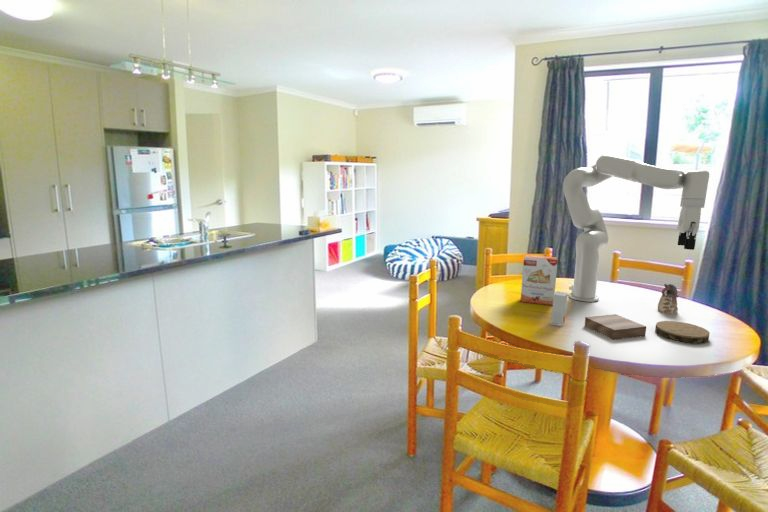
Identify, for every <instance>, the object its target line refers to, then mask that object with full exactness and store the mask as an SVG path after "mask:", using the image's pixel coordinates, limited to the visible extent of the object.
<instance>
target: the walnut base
mask: <svg viewBox="0 0 768 512" xmlns="http://www.w3.org/2000/svg"><path fill="white" fill-rule="evenodd" d="M584 319H585V320H584V327H585V326H586V327H585V328H587V327H588V329H589V328H590V330H592V331H594V330H595V331H594V332H596V331H597V332H596V333H598V332H599V333H598V334H600V333H601V334H600V335H602V334H603V335H602V336H604V335H605V336H604V337H606V336H607V337H606V338H608V337H609V338H608V339H610V338H611V340H613V341H614V340H615V339H616V340H623V338H624V339H630V338H631V339H632V337H633V338H638V337H639V338H641V337H646V331H647V326H646V325H644V324H641V323H639V322H637V321H633V320H631V319H629V318H626V317H623V316H622V315H621V316H620V315H619V314H616V313H615V314H605V315H595V316H593V315H592V316H586V317H584ZM640 336H641V337H640Z"/></svg>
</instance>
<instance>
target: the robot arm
mask: <svg viewBox="0 0 768 512" xmlns="http://www.w3.org/2000/svg"><path fill="white" fill-rule="evenodd" d="M612 177H614V178H618V179H623V180H626V181H629V182H634V183H638V184H643V185H646V186H650V187H654V188H659V189H663V190H676V189H682V192H681V199H680V205H679V207H681V209H680V213H679V216H678V222H677V227H676V228H677V231H678V232H679V234H678V237H677V238H678V239H677V245H678V246H684V247H683V249H684V250H689V251H690V250H693V251H694V250H695V249H696V248H695V247H696V242H697V241H696V240H697V234H698V233H699V228H700V222H701V214H702V213H701V211H702V208H703V209H704V208H705V204H706V199H707V191H708V186H709V179H710V172H709V171H708V170H703V169H702V170H701V169H699V170H698V169H697V170H695V169H694V170H693V169H692V170H691V169H690V170H683V169H669V168H664V167H660V166H655V165H651V164H647V163H644V162H643V161H641V160H639V159H633V158H629V157H622V156H621V155H617V154H611V153H610V154H609V153H608V154H606V153H605V154H603V155H600V157H598V158H597V160H596V163H595V165H592V166H591V167H578V168H574V169H573V170H571V171H570V172H569V173H568V174H566V176H565V178H564V180H563V183H562V184H563V185H562V191H563V194H564V198H565V200H566V203H567V207H568V211H569V214H570V217H571V221H572V223H573V225H574V227H576V228H577V229H583V232H581V233H580V234H579V235H578V236H577V238H576V239H575V265H574V266H575V268H574V276H573V278H574V279H573V284H572V285H571V286H569V287H568V290H571V292H570V293H568V297H569V298H570V299H572V300H575V301H579V302H584V303H594V302H598V301H599V300H600V297H599V296H598V295H596V294H597V285H598V284H597V283H598V274H599V265H600V257H599V256H600V255H599V254H600V253H599V250H601V249H603V248H605V247H606V246H607V245H608V242H609V234H608V231H607V227H606V223H605V221H604V217H603V216H602V213H601V212H600V210H599V209H597V208H596V207H593V206H590V204H589V201H588V197H587V194H586V192H585V191H584V189H583V188H587V187H588V188H589V187H593V186H597V185H598V184H600V183H602V182H604V181H606V180H608V179H610V178H612Z"/></svg>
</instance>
